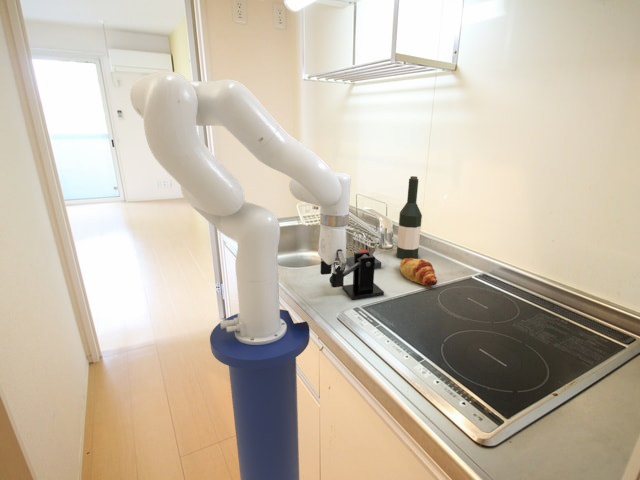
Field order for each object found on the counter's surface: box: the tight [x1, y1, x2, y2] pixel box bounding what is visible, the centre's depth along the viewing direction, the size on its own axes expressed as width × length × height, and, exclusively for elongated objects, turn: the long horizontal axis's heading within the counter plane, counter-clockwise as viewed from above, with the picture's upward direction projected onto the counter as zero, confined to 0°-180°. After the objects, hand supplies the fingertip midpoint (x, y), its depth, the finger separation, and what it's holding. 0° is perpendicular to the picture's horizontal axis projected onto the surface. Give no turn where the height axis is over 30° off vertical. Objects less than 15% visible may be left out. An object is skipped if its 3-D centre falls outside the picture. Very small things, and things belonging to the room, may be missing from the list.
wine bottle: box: [396, 175, 423, 260], centre depth 133 cm, size 8×8×30 cm
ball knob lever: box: [329, 254, 368, 285], centre depth 103 cm, size 13×3×3 cm, turn 112°
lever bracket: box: [341, 251, 385, 301], centre depth 105 cm, size 10×8×12 cm
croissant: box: [399, 258, 438, 287], centre depth 118 cm, size 21×10×8 cm, turn 21°
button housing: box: [345, 252, 382, 270], centre depth 127 cm, size 10×8×4 cm
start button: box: [358, 249, 370, 253], centre depth 126 cm, size 4×4×2 cm
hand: (331, 280), depth 101 cm, fingers open, 9 cm apart
